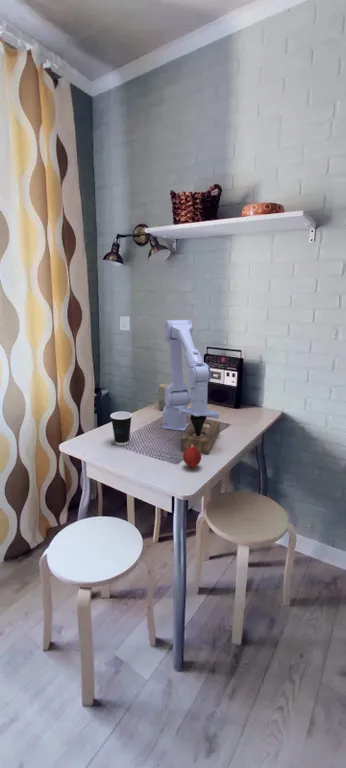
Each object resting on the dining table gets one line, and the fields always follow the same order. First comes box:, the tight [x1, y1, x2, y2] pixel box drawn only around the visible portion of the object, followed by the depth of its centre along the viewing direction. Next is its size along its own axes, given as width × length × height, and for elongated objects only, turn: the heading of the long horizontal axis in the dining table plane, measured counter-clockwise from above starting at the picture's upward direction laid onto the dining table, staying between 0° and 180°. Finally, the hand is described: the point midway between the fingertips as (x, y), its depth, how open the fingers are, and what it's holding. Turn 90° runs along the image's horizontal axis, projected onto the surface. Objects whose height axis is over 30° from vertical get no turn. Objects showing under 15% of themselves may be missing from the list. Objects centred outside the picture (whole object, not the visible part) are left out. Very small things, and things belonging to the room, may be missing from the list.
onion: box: [182, 445, 202, 469], centre depth 125 cm, size 6×6×8 cm
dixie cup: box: [109, 411, 133, 446], centre depth 144 cm, size 8×8×11 cm
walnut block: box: [180, 419, 221, 455], centre depth 146 cm, size 10×20×5 cm, turn 162°
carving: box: [157, 383, 171, 411], centre depth 181 cm, size 6×8×12 cm
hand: (198, 435), depth 140 cm, fingers closed, pressing on peg front
